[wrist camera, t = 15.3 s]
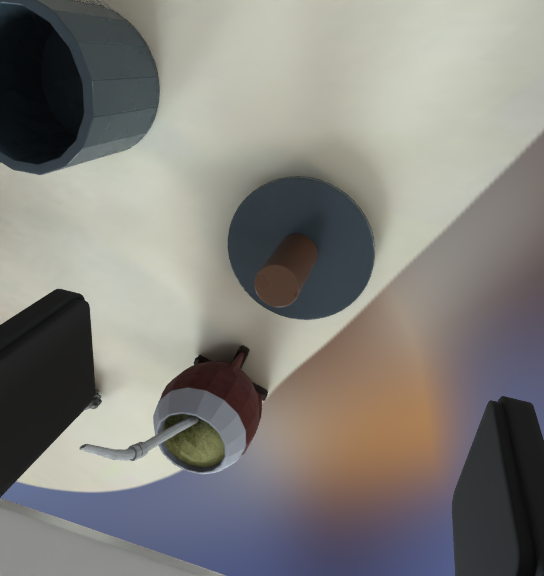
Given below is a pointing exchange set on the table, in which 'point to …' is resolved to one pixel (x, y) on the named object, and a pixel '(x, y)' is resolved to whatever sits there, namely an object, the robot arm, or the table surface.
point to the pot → (71, 84)
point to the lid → (301, 248)
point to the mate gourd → (202, 417)
